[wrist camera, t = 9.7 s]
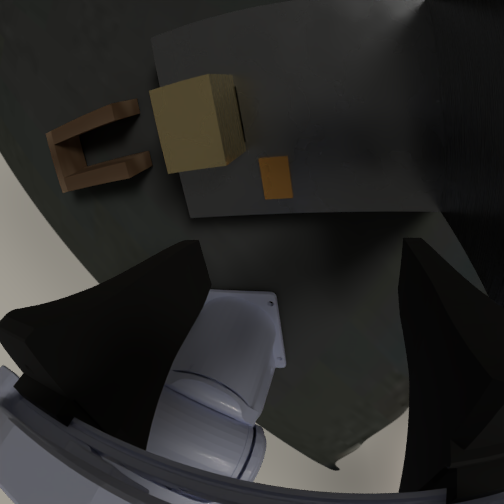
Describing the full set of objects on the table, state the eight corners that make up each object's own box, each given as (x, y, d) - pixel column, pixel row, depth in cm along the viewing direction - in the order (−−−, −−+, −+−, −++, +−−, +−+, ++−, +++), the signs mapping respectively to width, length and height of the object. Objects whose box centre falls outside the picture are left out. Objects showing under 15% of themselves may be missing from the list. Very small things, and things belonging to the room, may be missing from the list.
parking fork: (152, 165, 22) (129, 178, 19) (85, 180, 24) (62, 192, 22) (136, 98, 19) (110, 103, 17) (70, 125, 22) (45, 133, 19)
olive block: (258, 141, 19) (226, 165, 14) (213, 147, 20) (168, 173, 15) (247, 75, 17) (208, 73, 12) (200, 85, 18) (149, 90, 13)
